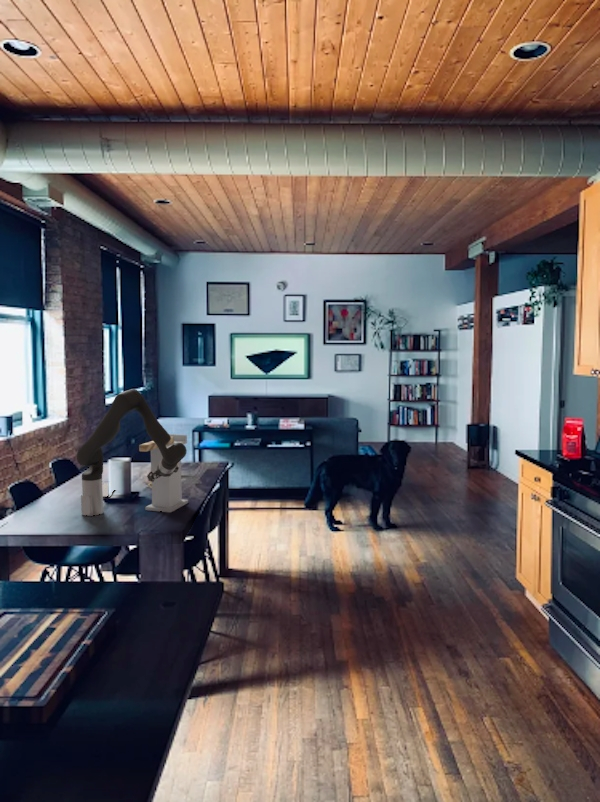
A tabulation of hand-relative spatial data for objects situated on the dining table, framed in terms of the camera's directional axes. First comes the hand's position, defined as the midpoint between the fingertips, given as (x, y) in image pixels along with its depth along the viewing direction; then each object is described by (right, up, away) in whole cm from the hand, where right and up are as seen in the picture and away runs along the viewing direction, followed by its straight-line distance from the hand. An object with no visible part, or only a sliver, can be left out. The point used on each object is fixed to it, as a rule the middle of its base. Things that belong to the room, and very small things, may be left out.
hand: (160, 477), depth 292 cm
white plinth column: (0, -16, +14) cm, 22 cm away
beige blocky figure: (-13, -12, +58) cm, 61 cm away
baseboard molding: (-42, -14, +46) cm, 64 cm away
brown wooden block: (-2, +15, +3) cm, 15 cm away
